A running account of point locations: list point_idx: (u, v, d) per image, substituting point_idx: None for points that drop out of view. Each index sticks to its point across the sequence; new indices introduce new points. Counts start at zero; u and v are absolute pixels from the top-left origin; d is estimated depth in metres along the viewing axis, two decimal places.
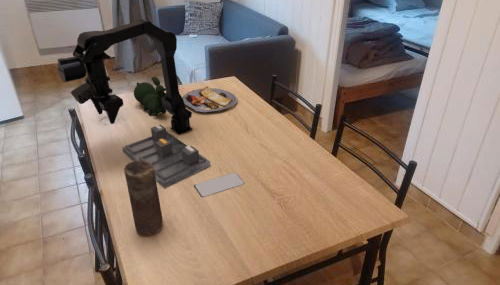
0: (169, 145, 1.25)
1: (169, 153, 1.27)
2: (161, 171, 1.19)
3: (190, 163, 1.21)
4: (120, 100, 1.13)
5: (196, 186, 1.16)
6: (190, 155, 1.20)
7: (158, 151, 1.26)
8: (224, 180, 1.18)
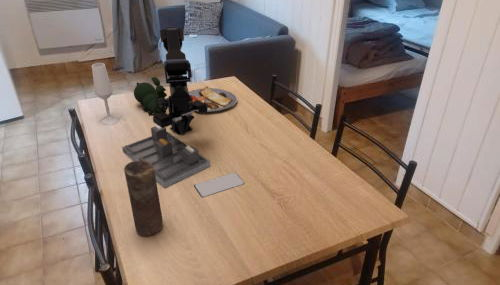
0: (169, 145, 1.25)
1: (169, 153, 1.27)
2: (161, 171, 1.19)
3: (190, 163, 1.21)
4: (160, 122, 1.19)
5: (196, 186, 1.16)
6: (190, 155, 1.20)
7: (158, 151, 1.26)
8: (224, 180, 1.18)
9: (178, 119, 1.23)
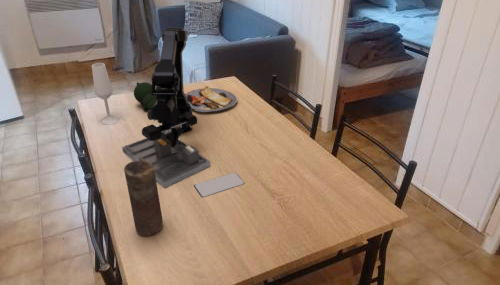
0: (168, 145, 1.25)
1: (168, 153, 1.26)
2: (161, 171, 1.19)
3: (190, 163, 1.21)
4: (149, 135, 1.17)
5: (196, 186, 1.16)
6: (190, 155, 1.20)
7: (157, 151, 1.26)
8: (224, 180, 1.18)
9: (167, 132, 1.22)
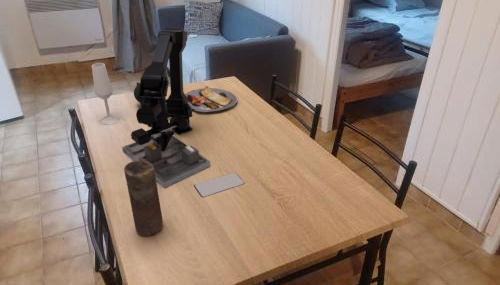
0: (158, 150, 1.23)
1: (158, 158, 1.24)
2: (161, 171, 1.19)
3: (190, 163, 1.21)
4: (138, 139, 1.15)
5: (196, 186, 1.16)
6: (190, 155, 1.20)
7: (147, 156, 1.24)
8: (224, 180, 1.18)
9: (157, 136, 1.20)
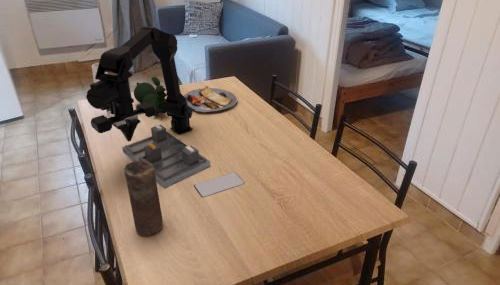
0: (158, 150, 1.23)
1: (158, 158, 1.24)
2: (161, 171, 1.19)
3: (190, 163, 1.21)
4: (97, 126, 1.04)
5: (196, 186, 1.16)
6: (190, 155, 1.20)
7: (147, 156, 1.24)
8: (224, 180, 1.18)
9: (120, 123, 1.09)
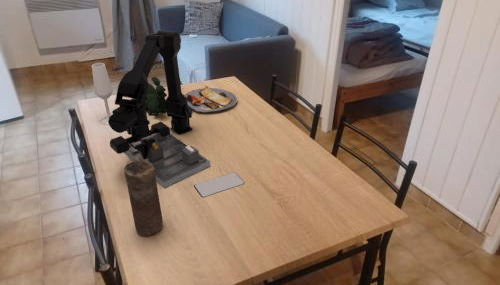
0: (160, 149, 1.23)
1: (160, 157, 1.24)
2: (161, 171, 1.19)
3: (190, 163, 1.21)
4: (116, 147, 1.11)
5: (196, 186, 1.16)
6: (190, 155, 1.20)
7: (149, 155, 1.24)
8: (224, 180, 1.18)
9: (137, 144, 1.16)
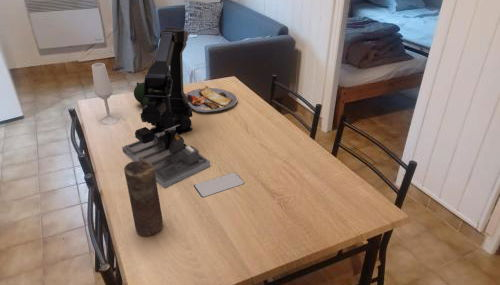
0: (181, 140, 1.28)
1: (181, 148, 1.29)
2: (161, 171, 1.19)
3: (190, 163, 1.21)
4: (142, 137, 1.16)
5: (196, 186, 1.16)
6: (190, 155, 1.20)
7: (170, 146, 1.29)
8: (224, 180, 1.18)
9: (161, 134, 1.21)
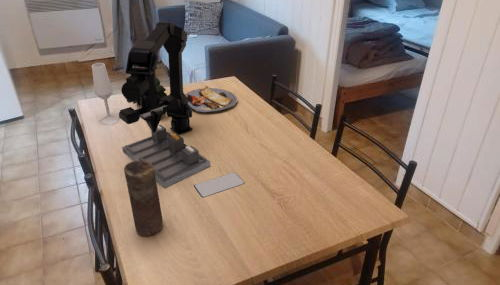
0: (181, 140, 1.28)
1: (181, 148, 1.29)
2: (161, 171, 1.19)
3: (190, 163, 1.21)
4: (126, 117, 1.09)
5: (196, 186, 1.16)
6: (190, 155, 1.20)
7: (170, 146, 1.29)
8: (224, 180, 1.18)
9: (147, 115, 1.14)
